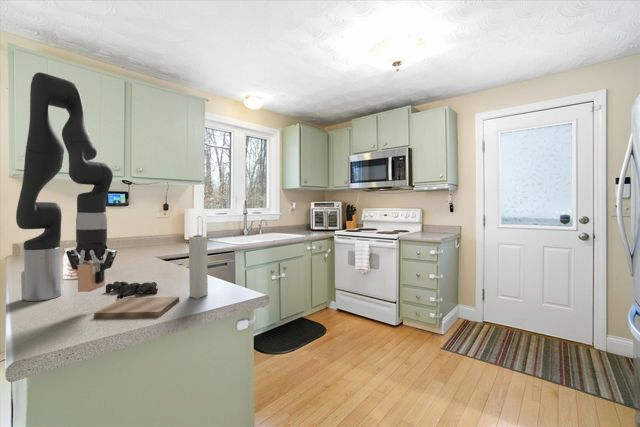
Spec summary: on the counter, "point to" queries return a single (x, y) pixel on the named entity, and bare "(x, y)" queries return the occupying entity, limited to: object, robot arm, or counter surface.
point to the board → (137, 307)
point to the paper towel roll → (198, 266)
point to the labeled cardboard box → (88, 277)
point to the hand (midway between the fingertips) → (92, 282)
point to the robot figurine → (131, 288)
